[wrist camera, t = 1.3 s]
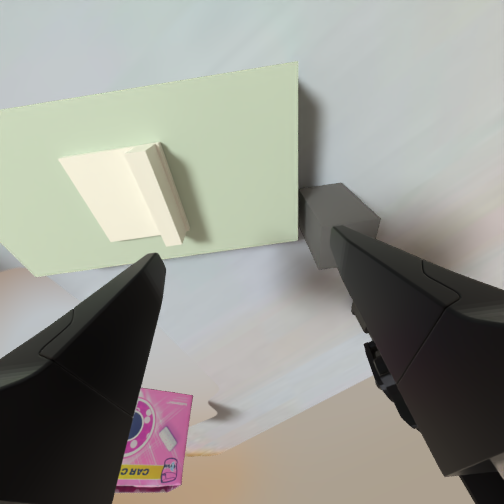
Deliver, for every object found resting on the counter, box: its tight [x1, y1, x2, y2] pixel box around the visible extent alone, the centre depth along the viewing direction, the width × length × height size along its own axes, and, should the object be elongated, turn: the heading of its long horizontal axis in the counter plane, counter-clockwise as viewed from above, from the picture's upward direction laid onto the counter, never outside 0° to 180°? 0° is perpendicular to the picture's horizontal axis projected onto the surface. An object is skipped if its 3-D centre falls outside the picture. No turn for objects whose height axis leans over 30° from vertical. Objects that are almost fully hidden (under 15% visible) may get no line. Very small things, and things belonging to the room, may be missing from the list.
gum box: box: [115, 388, 193, 493], centre depth 40 cm, size 24×8×14 cm, turn 60°
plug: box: [299, 183, 381, 270], centre depth 18 cm, size 4×4×9 cm
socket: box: [0, 61, 298, 277], centre depth 18 cm, size 24×12×4 cm, turn 97°
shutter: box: [58, 142, 190, 247], centre depth 15 cm, size 6×6×2 cm
